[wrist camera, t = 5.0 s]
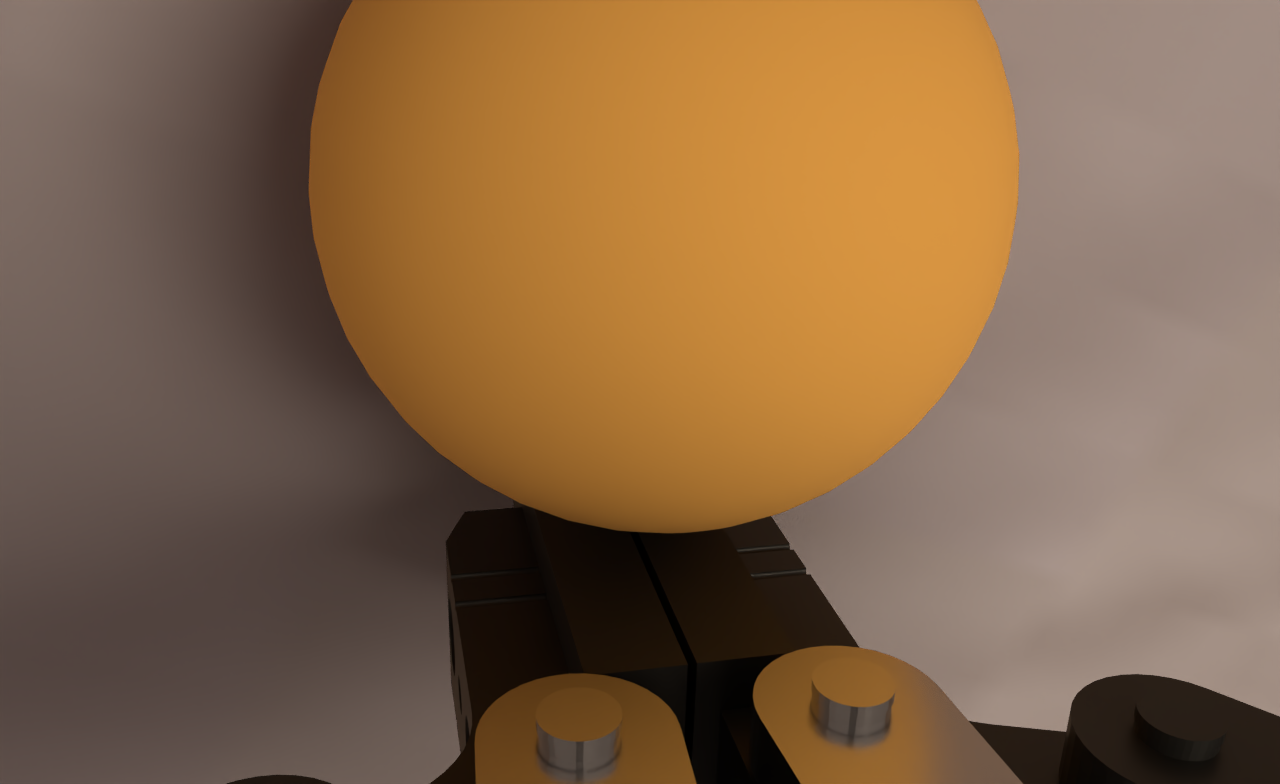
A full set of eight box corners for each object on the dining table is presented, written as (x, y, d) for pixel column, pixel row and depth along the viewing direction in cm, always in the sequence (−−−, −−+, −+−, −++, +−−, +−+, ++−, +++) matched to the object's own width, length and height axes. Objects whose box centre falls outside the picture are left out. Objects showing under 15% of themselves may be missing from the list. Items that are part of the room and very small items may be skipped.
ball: (334, 595, 10) (313, 54, 11) (893, 550, 11) (819, 62, 12) (298, 484, 5) (266, -425, 7) (1268, 425, 6) (1091, -343, 8)
